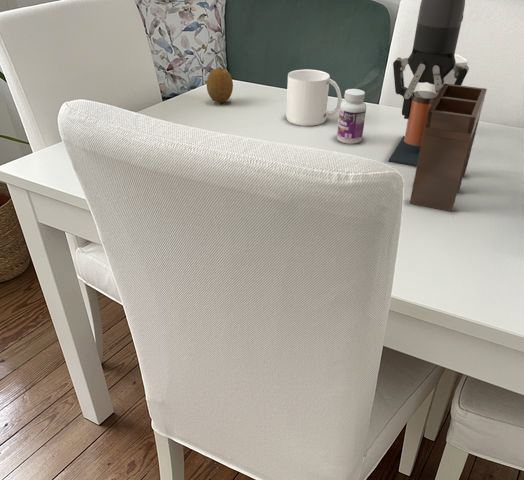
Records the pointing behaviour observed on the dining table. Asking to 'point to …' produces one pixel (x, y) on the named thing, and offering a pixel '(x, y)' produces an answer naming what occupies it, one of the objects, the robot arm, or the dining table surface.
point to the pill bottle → (351, 117)
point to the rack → (446, 145)
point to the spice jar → (418, 116)
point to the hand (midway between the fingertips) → (420, 119)
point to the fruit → (219, 85)
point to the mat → (405, 154)
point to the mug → (309, 97)
